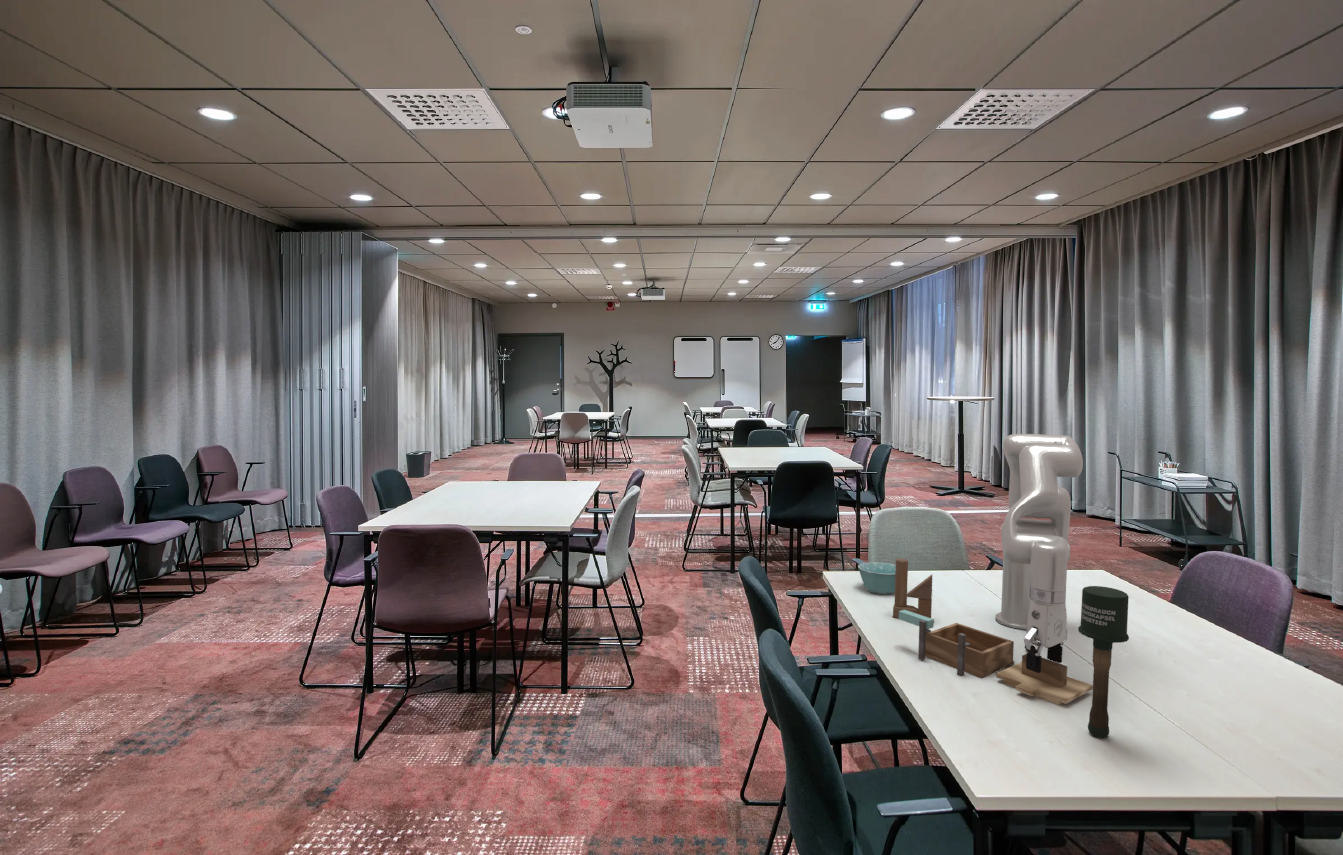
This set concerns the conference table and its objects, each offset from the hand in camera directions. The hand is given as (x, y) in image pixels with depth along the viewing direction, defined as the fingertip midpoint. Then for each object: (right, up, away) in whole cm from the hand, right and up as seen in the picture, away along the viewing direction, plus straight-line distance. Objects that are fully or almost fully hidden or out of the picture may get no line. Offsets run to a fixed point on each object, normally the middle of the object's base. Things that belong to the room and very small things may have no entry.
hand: (1044, 665), depth 157 cm
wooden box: (-12, -4, +15) cm, 20 cm away
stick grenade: (-1, -7, -21) cm, 22 cm away
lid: (-1, -6, 0) cm, 6 cm away
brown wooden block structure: (-14, -3, +46) cm, 48 cm away
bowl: (-15, -1, +74) cm, 75 cm away
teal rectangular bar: (-23, +4, +21) cm, 31 cm away
